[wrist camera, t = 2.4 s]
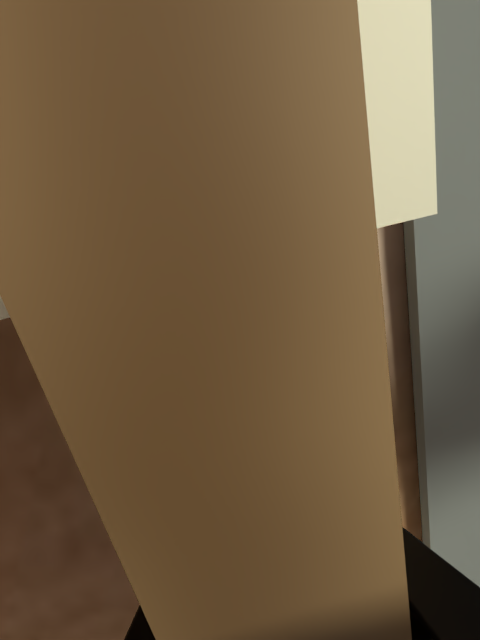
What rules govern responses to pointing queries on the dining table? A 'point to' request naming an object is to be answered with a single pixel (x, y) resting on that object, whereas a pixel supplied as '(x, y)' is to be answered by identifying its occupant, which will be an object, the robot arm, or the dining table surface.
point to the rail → (209, 303)
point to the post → (396, 108)
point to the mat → (450, 299)
